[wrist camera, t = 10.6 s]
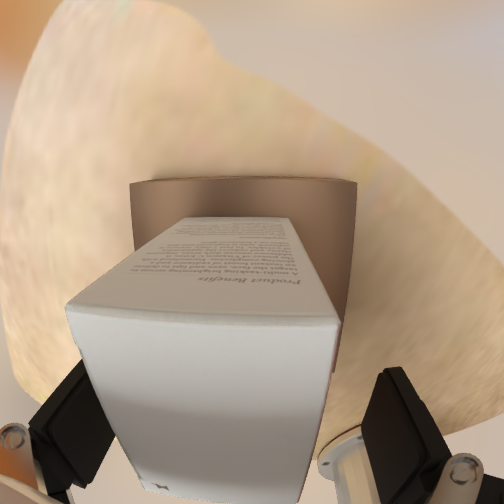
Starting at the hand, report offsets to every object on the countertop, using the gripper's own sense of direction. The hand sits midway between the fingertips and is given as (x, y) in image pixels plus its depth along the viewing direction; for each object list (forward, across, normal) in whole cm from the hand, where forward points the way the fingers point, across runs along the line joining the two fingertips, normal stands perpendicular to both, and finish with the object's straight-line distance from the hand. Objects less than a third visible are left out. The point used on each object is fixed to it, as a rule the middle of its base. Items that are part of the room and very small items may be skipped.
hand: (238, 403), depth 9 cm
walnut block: (+12, +1, -1) cm, 12 cm away
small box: (+8, +1, -1) cm, 8 cm away
